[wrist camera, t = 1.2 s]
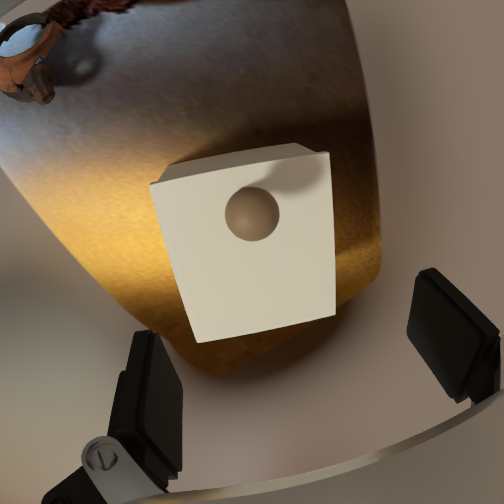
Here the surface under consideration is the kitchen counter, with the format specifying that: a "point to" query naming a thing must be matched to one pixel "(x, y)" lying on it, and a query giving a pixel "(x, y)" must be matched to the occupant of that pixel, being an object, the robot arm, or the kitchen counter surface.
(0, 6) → the hard drive box
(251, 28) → the kitchen counter surface
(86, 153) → the kitchen counter surface
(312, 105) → the kitchen counter surface
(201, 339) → the carton lid
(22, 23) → the broken clay pot
